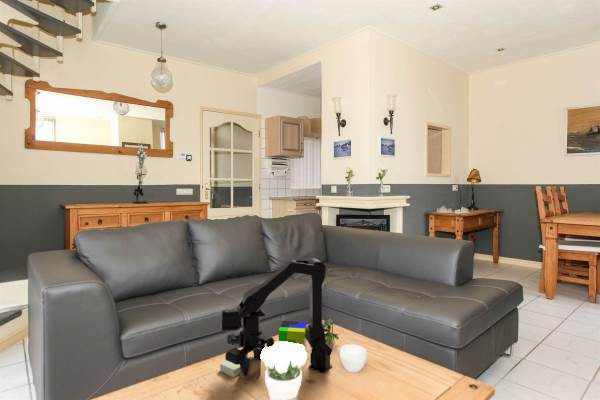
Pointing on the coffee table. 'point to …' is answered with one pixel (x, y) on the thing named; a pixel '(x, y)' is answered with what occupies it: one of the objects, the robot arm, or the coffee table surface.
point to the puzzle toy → (293, 332)
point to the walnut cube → (252, 369)
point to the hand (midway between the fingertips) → (250, 372)
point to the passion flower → (329, 335)
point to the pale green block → (230, 368)
